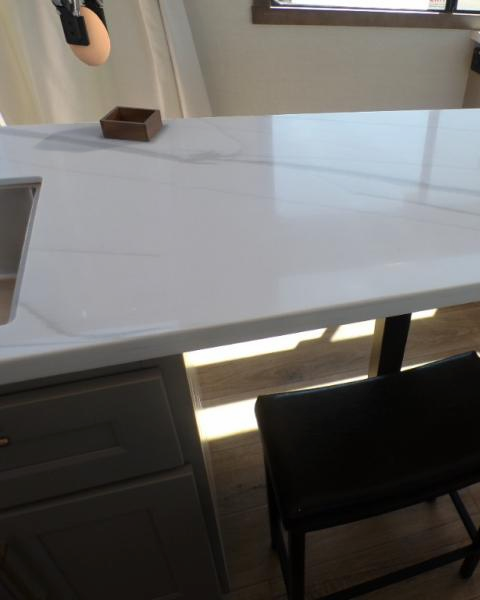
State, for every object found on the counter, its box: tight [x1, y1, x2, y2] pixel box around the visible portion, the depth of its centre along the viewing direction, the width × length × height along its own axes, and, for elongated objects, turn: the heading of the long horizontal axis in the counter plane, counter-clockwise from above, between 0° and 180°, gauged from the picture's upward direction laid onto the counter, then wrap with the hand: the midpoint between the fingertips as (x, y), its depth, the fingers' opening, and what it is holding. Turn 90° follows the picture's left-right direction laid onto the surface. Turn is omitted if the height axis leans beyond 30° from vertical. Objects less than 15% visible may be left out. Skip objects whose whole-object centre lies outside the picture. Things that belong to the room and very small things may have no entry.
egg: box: [68, 5, 111, 67], centre depth 80 cm, size 6×6×8 cm
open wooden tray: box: [99, 105, 164, 143], centre depth 102 cm, size 8×8×3 cm
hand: (88, 38), depth 80 cm, fingers closed on egg, 5 cm apart
